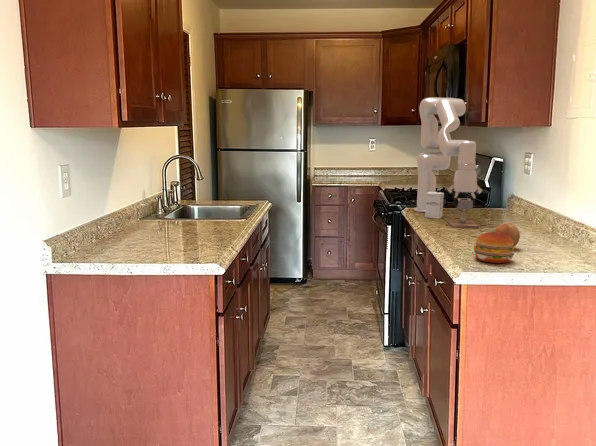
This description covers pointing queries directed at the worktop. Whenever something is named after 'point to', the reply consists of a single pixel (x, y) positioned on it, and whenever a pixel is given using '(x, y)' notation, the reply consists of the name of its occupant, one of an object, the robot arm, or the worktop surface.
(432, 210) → the supplement box
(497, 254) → the burger
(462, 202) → the link
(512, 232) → the onion
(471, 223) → the keeper
